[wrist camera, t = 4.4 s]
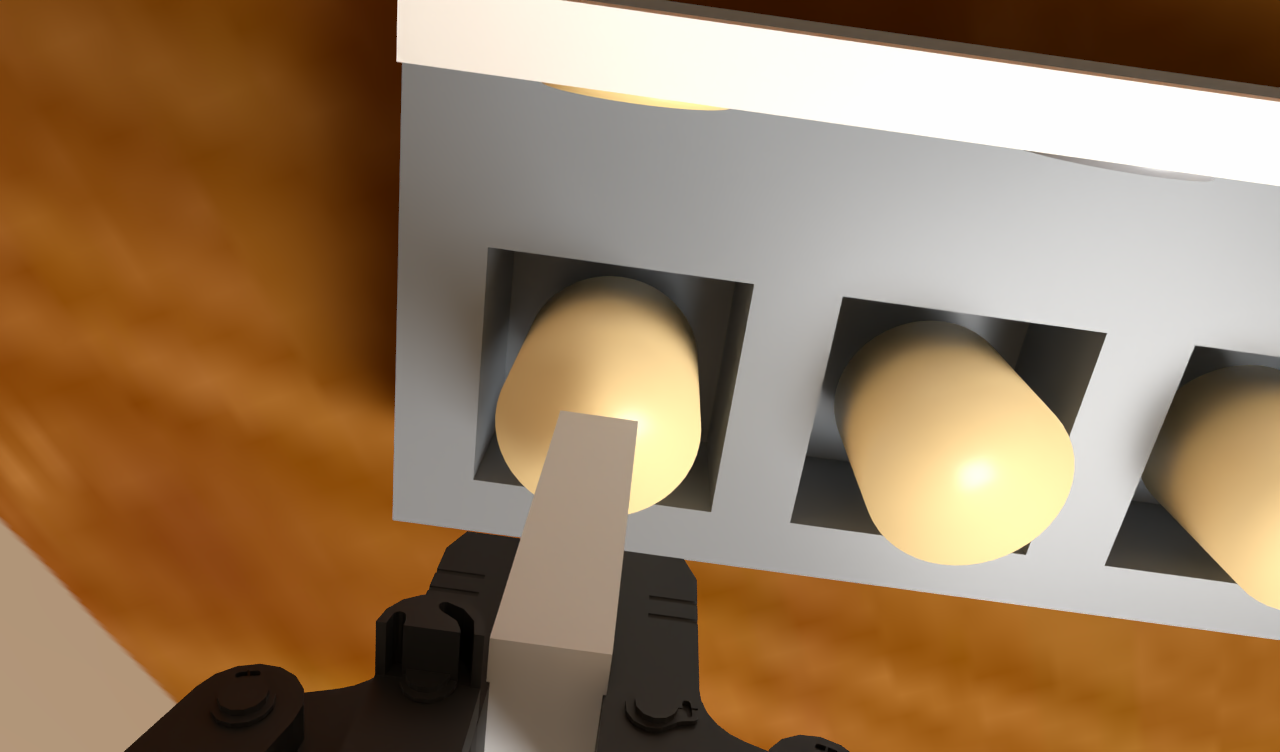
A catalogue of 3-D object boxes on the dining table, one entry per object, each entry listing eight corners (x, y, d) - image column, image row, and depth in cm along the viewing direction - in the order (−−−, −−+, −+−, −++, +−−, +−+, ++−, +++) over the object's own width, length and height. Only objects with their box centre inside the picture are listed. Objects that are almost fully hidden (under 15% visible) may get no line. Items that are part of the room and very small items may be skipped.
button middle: (817, 464, 23) (843, 551, 19) (855, 309, 21) (891, 371, 18) (980, 486, 23) (1037, 577, 19) (1031, 333, 21) (1103, 401, 18)
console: (442, 432, 27) (274, 728, 16) (462, -28, 22) (236, -65, 11) (1268, 545, 27) (1671, 913, 16) (1480, 117, 22) (2284, 228, 11)
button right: (1113, 505, 23) (1195, 598, 20) (1174, 353, 21) (1277, 424, 18) (1275, 527, 23) (1387, 625, 20) (1349, 378, 22) (1487, 454, 18)
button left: (519, 423, 23) (488, 502, 19) (533, 264, 21) (502, 318, 18) (684, 446, 23) (684, 529, 19) (710, 289, 21) (717, 347, 18)
